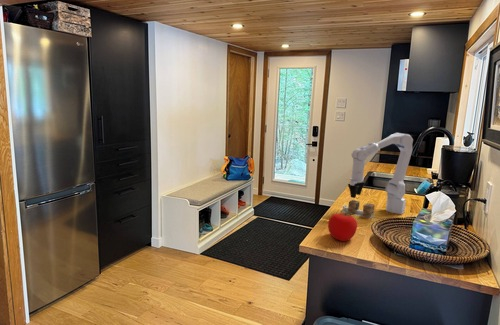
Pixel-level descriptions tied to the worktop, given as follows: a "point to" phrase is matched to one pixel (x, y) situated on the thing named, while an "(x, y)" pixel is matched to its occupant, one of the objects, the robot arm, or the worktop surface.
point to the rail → (358, 212)
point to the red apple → (342, 226)
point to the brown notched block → (353, 206)
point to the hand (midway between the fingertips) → (355, 196)
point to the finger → (368, 210)
